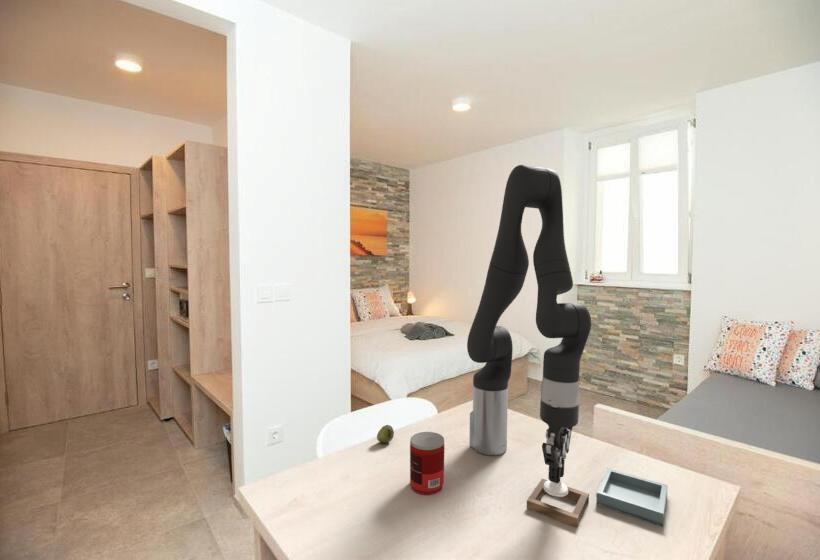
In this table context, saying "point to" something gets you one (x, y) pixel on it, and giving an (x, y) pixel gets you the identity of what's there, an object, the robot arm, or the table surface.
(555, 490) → the chess piece
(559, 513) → the collar
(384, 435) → the lime
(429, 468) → the canned food
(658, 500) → the tray
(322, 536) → the table surface
